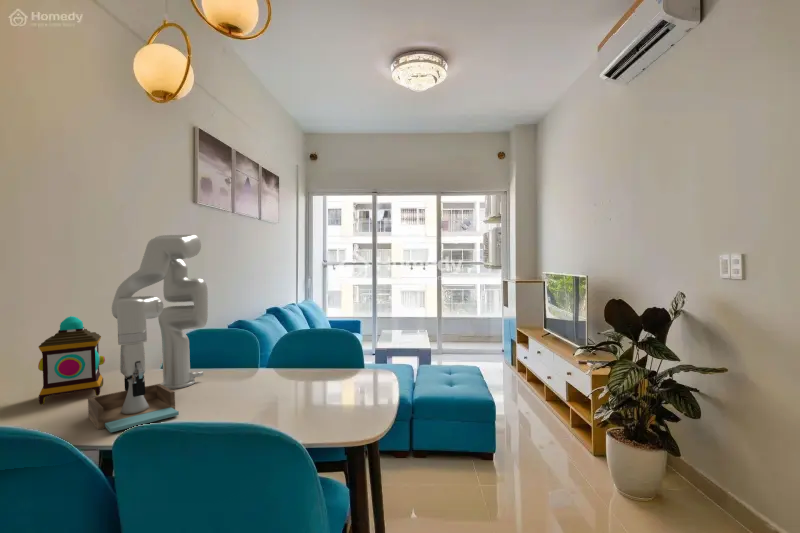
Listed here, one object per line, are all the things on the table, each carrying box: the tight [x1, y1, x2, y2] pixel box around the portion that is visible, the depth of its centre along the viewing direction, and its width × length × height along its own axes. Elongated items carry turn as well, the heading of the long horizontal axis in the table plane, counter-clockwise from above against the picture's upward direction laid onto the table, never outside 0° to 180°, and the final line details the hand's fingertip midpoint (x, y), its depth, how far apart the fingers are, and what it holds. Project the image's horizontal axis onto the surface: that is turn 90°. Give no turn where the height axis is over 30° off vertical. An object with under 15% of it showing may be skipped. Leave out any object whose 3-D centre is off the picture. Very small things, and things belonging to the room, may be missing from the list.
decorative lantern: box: [37, 315, 106, 406], centre depth 154 cm, size 20×20×30 cm
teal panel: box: [105, 407, 180, 433], centre depth 120 cm, size 17×1×8 cm
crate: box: [87, 383, 176, 430], centre depth 128 cm, size 20×16×6 cm
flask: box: [120, 378, 149, 414], centre depth 126 cm, size 7×7×10 cm
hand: (134, 392), depth 127 cm, fingers open, 9 cm apart
